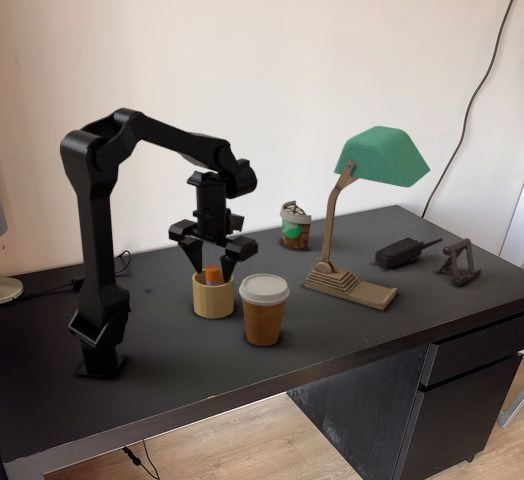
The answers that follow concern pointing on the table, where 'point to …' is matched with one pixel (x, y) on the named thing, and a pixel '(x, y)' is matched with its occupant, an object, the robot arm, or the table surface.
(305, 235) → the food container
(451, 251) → the tablet stand
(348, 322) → the table surface
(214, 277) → the glue stick
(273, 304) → the disposable coffee cup
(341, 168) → the banker's lamp
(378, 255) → the walkie-talkie
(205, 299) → the pen pot
